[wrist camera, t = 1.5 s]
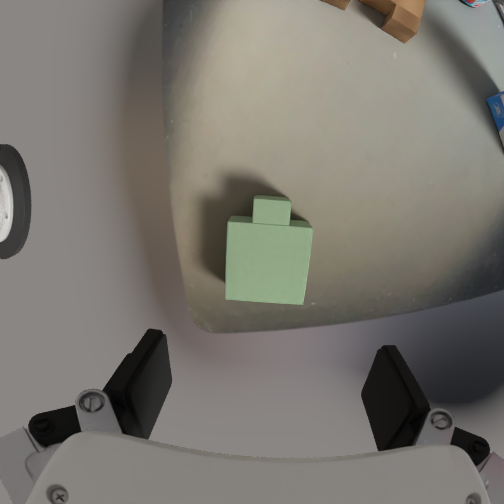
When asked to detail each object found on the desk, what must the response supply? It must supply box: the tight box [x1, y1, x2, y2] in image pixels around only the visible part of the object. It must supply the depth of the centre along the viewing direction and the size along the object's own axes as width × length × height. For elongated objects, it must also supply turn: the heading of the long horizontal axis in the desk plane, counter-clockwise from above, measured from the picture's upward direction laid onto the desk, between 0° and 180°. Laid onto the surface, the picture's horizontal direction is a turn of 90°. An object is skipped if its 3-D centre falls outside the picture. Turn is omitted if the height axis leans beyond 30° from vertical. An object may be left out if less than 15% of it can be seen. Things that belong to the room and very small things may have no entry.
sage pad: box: [225, 195, 313, 305], centre depth 24 cm, size 7×9×3 cm
